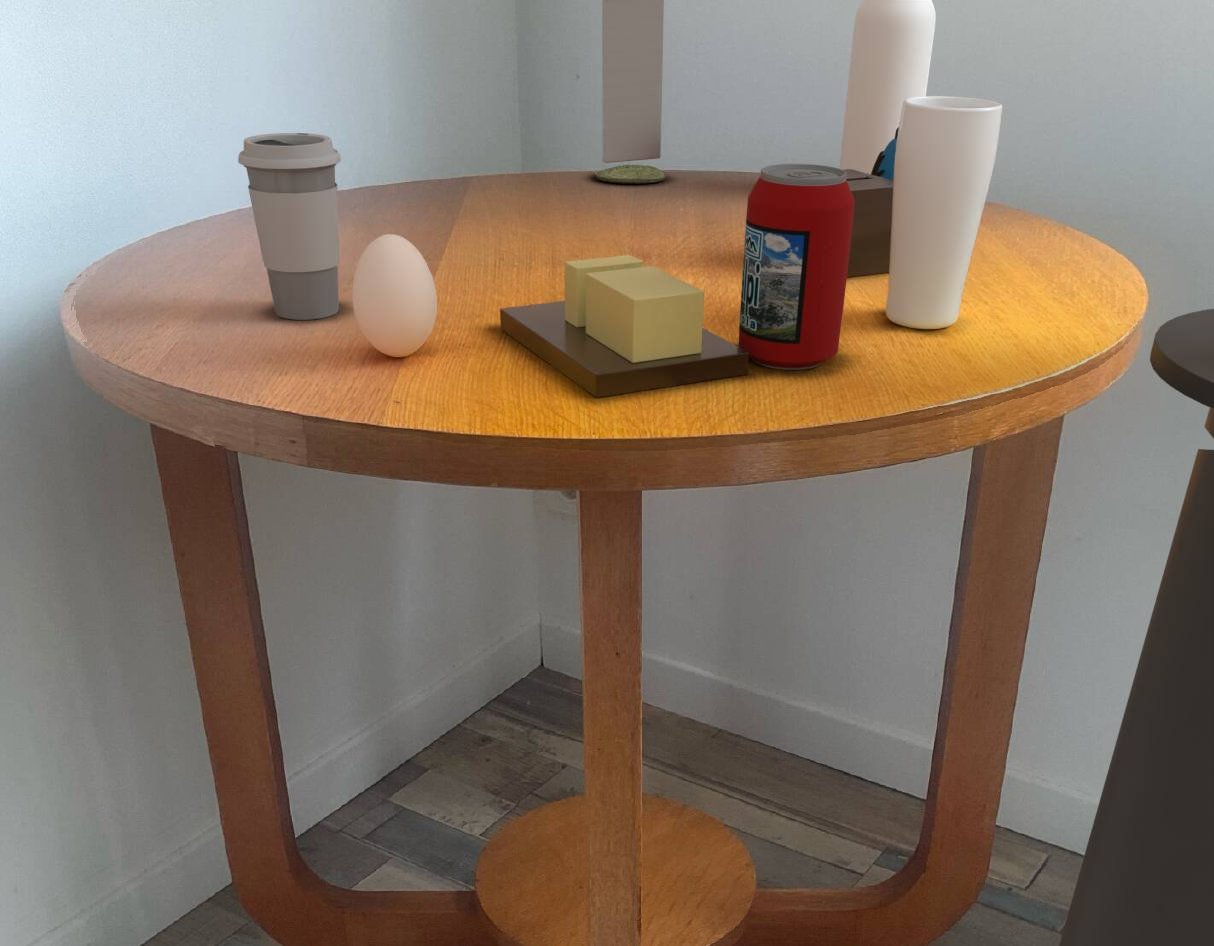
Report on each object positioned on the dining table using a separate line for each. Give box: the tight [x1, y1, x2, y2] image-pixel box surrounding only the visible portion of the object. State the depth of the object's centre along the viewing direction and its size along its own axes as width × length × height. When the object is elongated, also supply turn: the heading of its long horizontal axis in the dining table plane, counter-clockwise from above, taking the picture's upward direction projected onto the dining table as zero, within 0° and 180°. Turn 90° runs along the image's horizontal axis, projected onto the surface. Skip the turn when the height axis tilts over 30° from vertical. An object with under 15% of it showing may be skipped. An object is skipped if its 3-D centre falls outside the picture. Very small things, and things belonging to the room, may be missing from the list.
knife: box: [601, 0, 665, 164], centre depth 74 cm, size 2×4×16 cm, turn 116°
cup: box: [237, 132, 342, 321], centre depth 87 cm, size 7×7×12 cm
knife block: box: [844, 169, 893, 278], centre depth 102 cm, size 8×7×7 cm
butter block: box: [586, 265, 705, 363], centre depth 78 cm, size 7×5×4 cm
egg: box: [351, 233, 438, 358], centre depth 79 cm, size 6×6×8 cm
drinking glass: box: [885, 95, 1003, 330], centre depth 86 cm, size 7×7×15 cm
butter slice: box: [564, 254, 644, 327], centre depth 83 cm, size 2×5×4 cm, turn 116°
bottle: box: [838, 0, 937, 174], centre depth 123 cm, size 8×8×30 cm
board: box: [499, 300, 750, 398], centre depth 82 cm, size 16×11×2 cm
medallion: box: [594, 164, 667, 185], centre depth 137 cm, size 8×8×1 cm
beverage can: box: [737, 163, 855, 371], centre depth 79 cm, size 7×7×12 cm
